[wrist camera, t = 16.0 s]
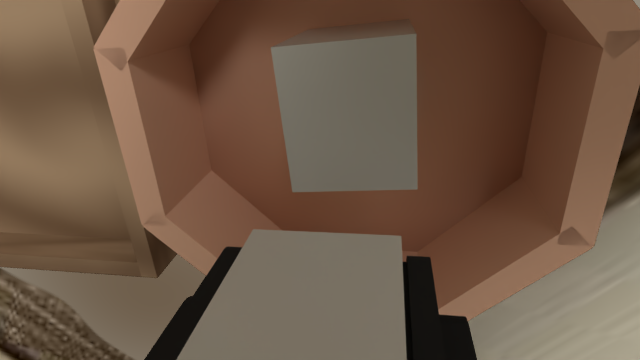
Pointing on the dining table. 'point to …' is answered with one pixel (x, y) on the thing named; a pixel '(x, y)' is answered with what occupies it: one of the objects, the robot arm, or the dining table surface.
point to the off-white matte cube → (349, 106)
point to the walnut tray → (64, 149)
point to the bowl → (432, 130)
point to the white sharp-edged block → (307, 300)
